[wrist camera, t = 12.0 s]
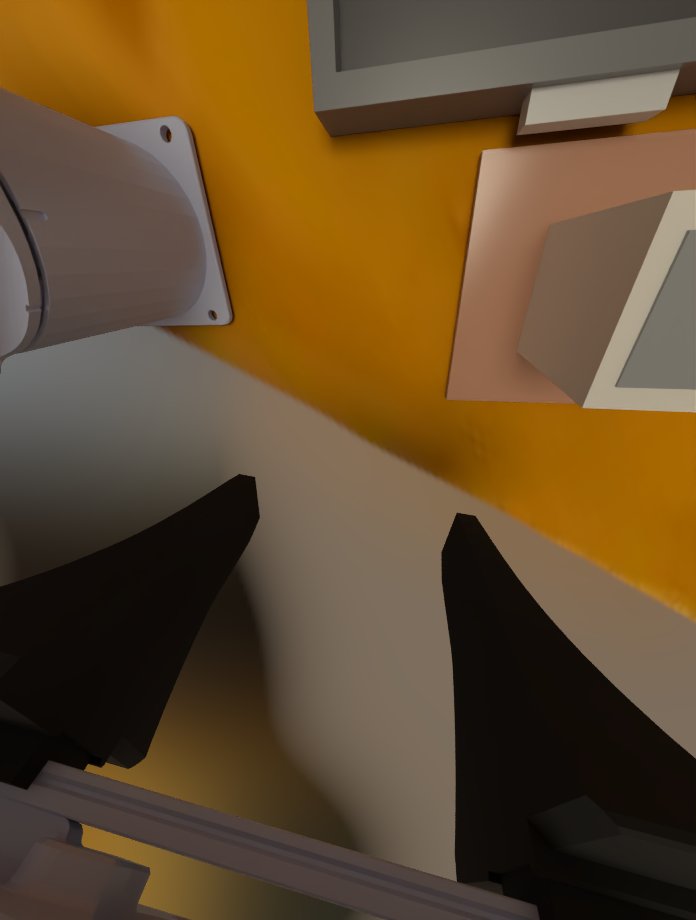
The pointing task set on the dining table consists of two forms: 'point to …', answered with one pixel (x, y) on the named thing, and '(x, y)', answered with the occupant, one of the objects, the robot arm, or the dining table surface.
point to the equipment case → (498, 61)
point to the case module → (619, 306)
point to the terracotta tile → (541, 243)
